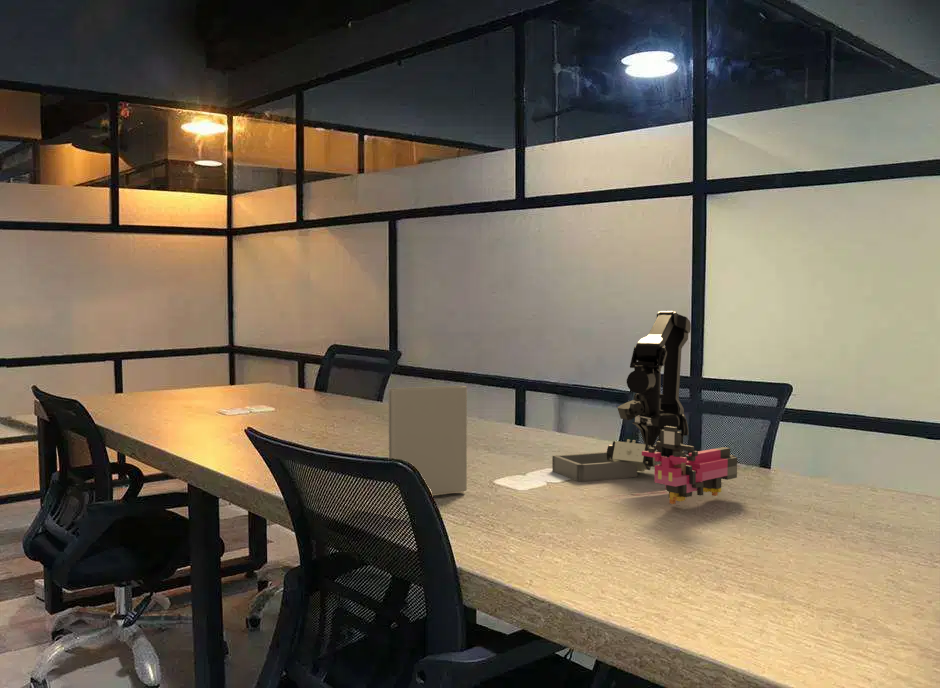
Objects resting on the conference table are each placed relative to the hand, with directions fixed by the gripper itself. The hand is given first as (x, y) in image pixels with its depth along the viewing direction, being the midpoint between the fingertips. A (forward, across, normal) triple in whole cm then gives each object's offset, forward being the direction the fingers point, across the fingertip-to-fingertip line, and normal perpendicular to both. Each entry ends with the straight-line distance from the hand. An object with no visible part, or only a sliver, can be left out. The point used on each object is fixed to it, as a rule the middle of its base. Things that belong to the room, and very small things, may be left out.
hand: (648, 450), depth 219 cm
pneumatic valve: (+3, 0, -3) cm, 5 cm away
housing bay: (+5, 0, -15) cm, 16 cm away
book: (+6, +5, -62) cm, 62 cm away
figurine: (+6, +32, -8) cm, 34 cm away
